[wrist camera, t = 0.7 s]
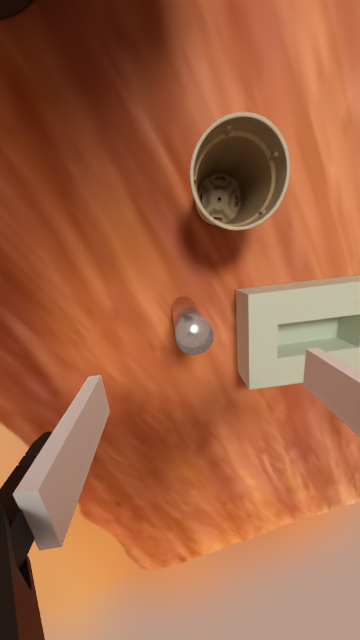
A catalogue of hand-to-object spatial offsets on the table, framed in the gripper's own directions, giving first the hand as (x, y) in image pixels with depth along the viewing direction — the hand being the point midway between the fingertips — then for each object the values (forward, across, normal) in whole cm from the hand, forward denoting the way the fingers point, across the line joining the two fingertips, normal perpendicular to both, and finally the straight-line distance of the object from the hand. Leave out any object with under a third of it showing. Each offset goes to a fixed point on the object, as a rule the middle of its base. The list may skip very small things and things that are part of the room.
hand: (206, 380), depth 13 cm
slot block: (+19, +18, -5) cm, 26 cm away
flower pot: (+19, +6, +14) cm, 24 cm away
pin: (+19, 0, 0) cm, 19 cm away
